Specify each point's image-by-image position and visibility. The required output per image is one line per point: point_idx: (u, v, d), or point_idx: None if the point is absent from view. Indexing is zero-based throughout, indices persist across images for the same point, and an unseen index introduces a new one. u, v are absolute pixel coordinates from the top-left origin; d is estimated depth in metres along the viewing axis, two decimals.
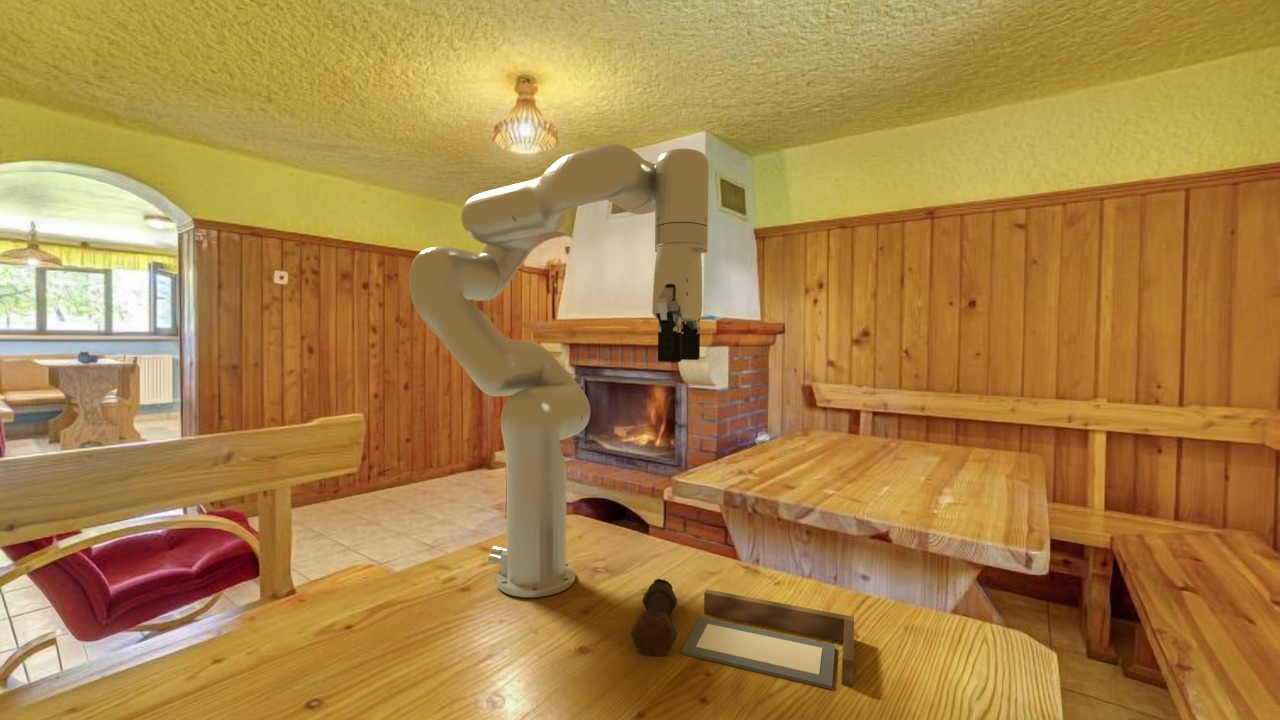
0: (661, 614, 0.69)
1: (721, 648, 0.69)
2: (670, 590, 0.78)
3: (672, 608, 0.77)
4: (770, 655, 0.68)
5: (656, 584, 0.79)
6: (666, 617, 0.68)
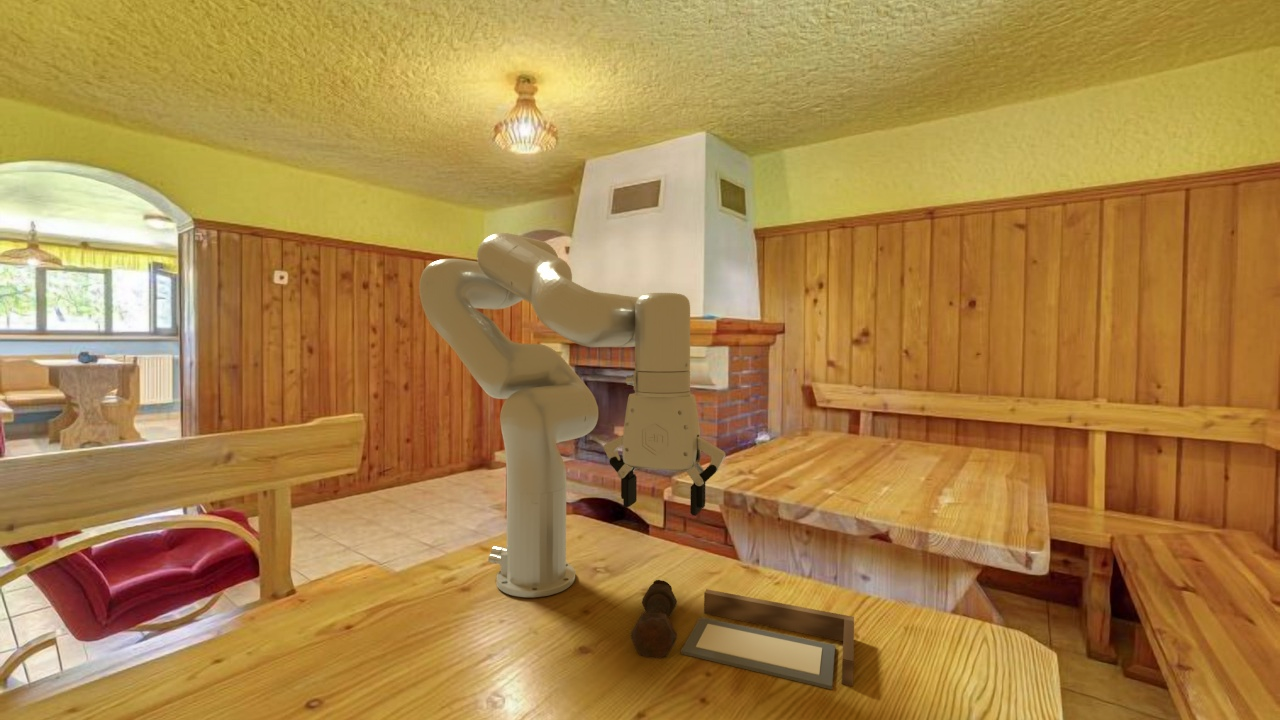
0: (661, 615, 0.69)
1: (721, 648, 0.69)
2: (670, 591, 0.78)
3: (672, 609, 0.77)
4: (770, 655, 0.68)
5: (655, 585, 0.79)
6: (666, 618, 0.68)
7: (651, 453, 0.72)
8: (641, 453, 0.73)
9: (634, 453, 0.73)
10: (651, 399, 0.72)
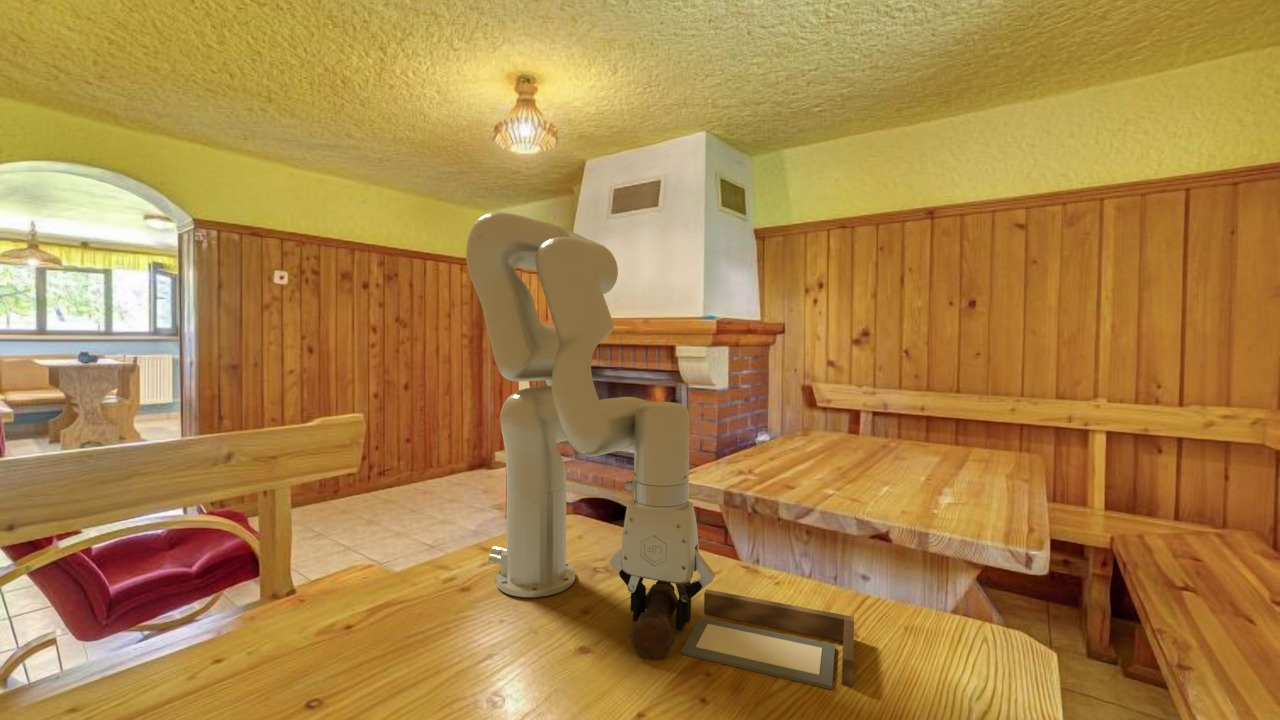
0: (660, 615, 0.68)
1: (721, 648, 0.69)
2: (671, 591, 0.77)
3: (673, 609, 0.76)
4: (770, 655, 0.68)
5: (657, 585, 0.78)
6: (665, 618, 0.68)
7: (649, 564, 0.73)
8: (640, 563, 0.73)
9: (633, 562, 0.74)
10: (649, 510, 0.73)
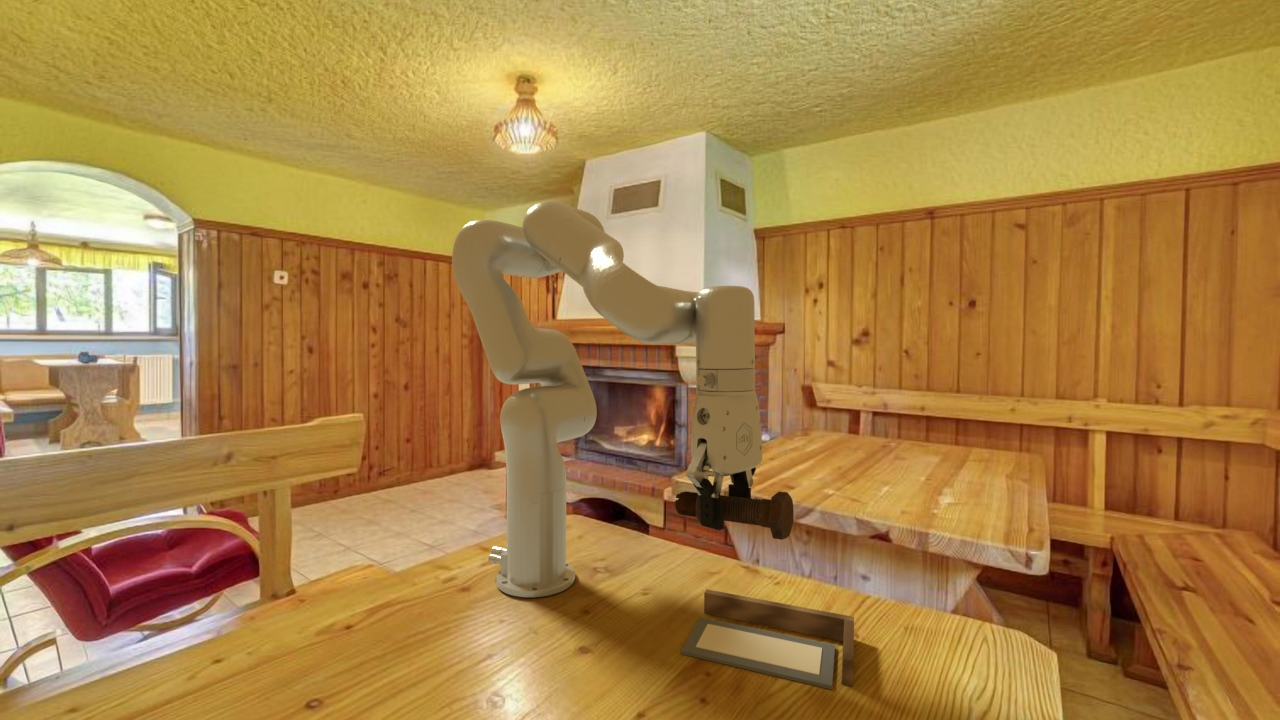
0: (781, 492, 0.68)
1: (721, 648, 0.69)
2: None
3: None
4: (770, 655, 0.68)
5: None
6: None
7: (742, 455, 0.68)
8: (735, 457, 0.67)
9: (730, 459, 0.66)
10: (740, 398, 0.68)
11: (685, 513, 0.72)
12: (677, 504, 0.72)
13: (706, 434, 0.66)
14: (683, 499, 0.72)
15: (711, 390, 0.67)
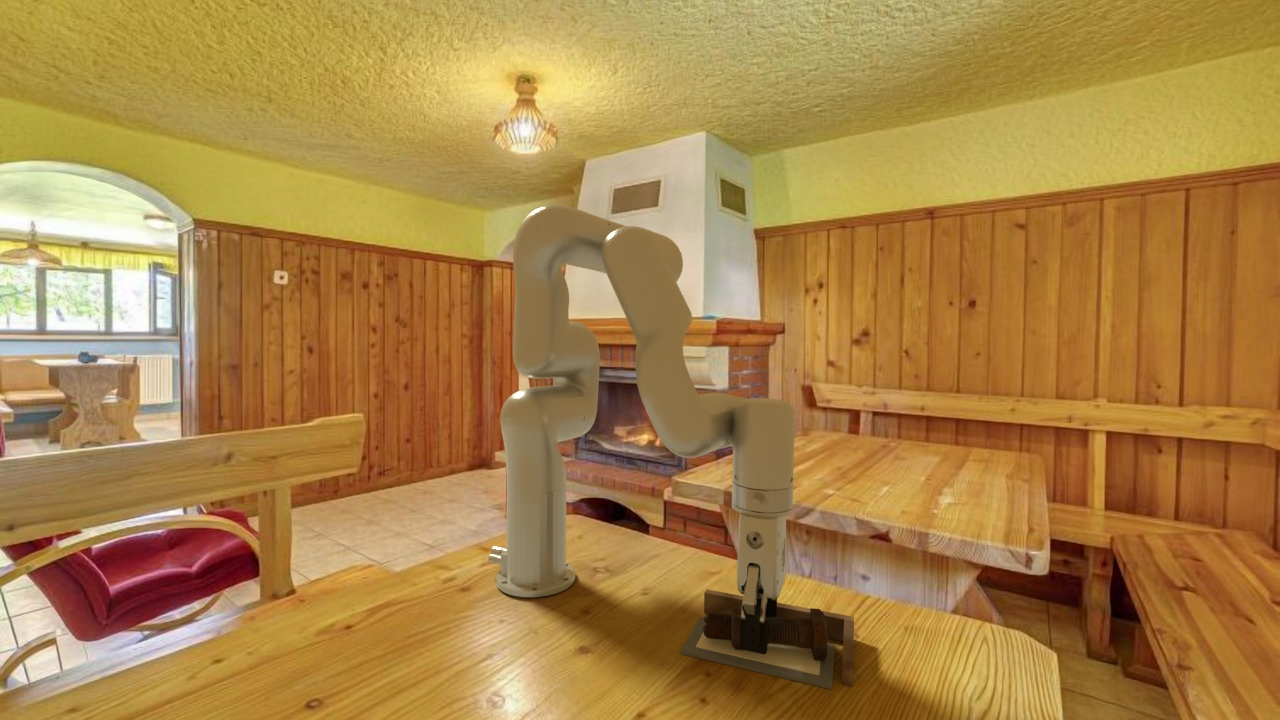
0: (815, 610, 0.69)
1: (721, 648, 0.69)
2: None
3: None
4: (770, 655, 0.68)
5: (735, 613, 0.69)
6: None
7: (782, 572, 0.67)
8: (781, 577, 0.66)
9: (779, 581, 0.65)
10: (782, 515, 0.67)
11: (715, 638, 0.69)
12: (707, 630, 0.69)
13: (759, 559, 0.64)
14: (714, 624, 0.69)
15: (761, 511, 0.65)
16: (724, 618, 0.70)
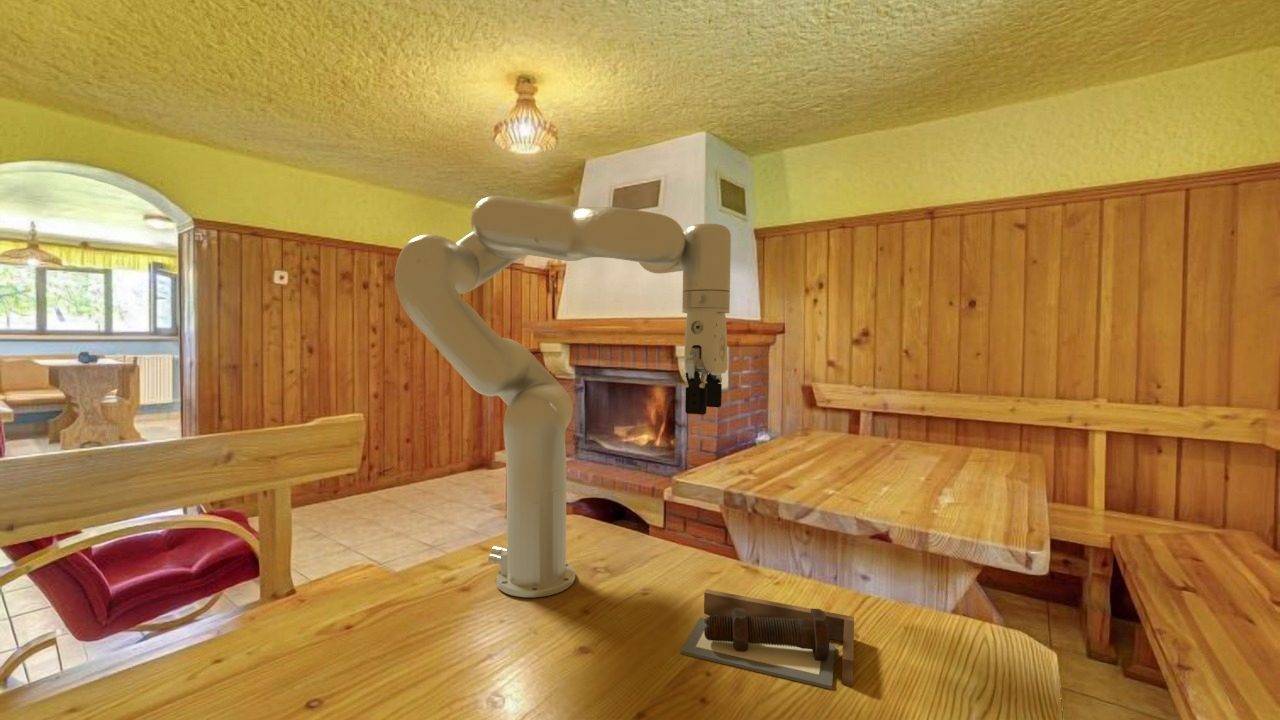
0: (816, 610, 0.69)
1: (721, 648, 0.69)
2: None
3: None
4: (770, 655, 0.68)
5: (736, 614, 0.69)
6: None
7: (721, 360, 0.86)
8: (719, 361, 0.84)
9: (717, 362, 0.83)
10: (721, 315, 0.85)
11: (716, 640, 0.69)
12: (709, 632, 0.69)
13: (700, 341, 0.82)
14: (715, 626, 0.69)
15: (702, 307, 0.83)
16: (725, 620, 0.69)
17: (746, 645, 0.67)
